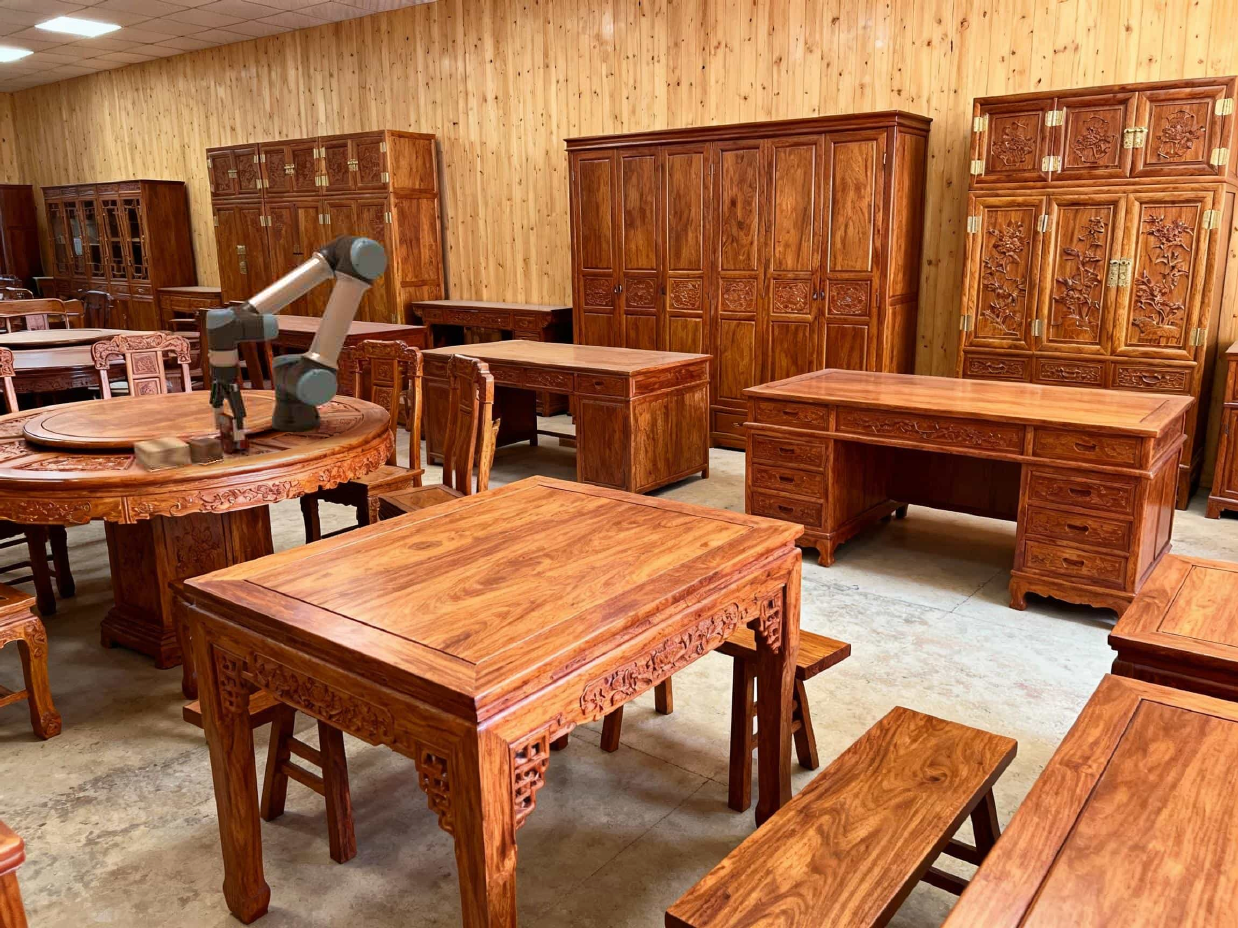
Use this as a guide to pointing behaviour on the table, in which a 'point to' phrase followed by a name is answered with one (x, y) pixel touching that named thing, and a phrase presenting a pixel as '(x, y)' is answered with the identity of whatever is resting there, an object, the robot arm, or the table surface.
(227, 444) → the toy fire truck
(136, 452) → the birch block
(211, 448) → the walnut cube
